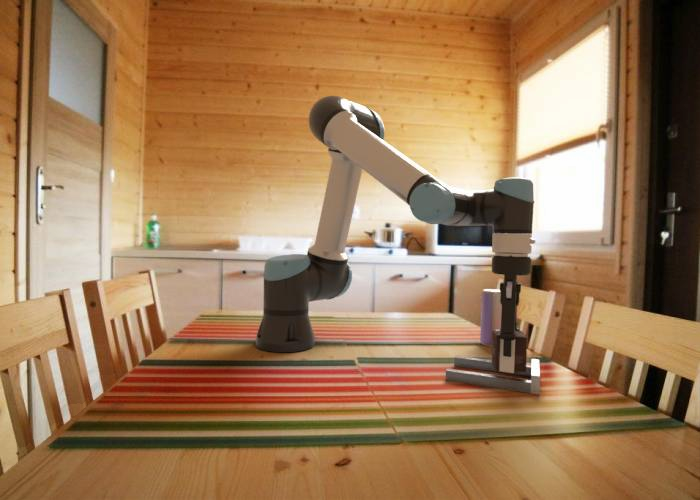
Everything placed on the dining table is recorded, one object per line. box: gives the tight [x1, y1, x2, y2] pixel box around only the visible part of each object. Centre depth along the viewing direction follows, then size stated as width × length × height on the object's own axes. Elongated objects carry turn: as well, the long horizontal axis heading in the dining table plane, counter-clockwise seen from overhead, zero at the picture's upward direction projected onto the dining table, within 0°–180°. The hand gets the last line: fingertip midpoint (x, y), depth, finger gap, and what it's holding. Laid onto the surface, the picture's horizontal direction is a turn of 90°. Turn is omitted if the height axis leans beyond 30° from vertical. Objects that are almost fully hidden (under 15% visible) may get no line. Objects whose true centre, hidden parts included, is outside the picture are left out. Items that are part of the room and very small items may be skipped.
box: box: [491, 330, 528, 373], centre depth 87 cm, size 6×6×7 cm
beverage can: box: [479, 288, 502, 348], centre depth 116 cm, size 6×6×15 cm
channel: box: [445, 355, 541, 395], centre depth 88 cm, size 18×12×4 cm
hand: (507, 366), depth 87 cm, fingers closed on box, 7 cm apart
